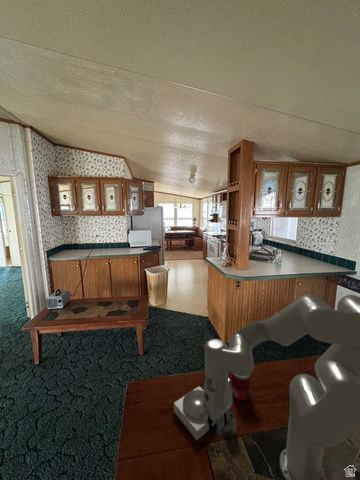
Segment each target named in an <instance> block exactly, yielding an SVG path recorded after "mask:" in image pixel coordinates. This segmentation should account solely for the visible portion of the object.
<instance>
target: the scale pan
mask: <svg viewBox="0 0 360 480" xmlns="http://www.w3.org/2000/svg"><path fill="white" fill-rule="evenodd" d="M192 390H193V391H192ZM192 390H191V391H188V392H186V394H185V395H184V396H185V397H184V399H183V408H184V411H185V412H186V414H187V415H189V416H190V417H191V418H194V419H198V420H201V418H202V415H203V412H204V410H203V394H204V391H201V390H194V389H192Z"/></svg>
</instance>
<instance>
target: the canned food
mask: <svg viewBox="0 0 360 480" xmlns="http://www.w3.org/2000/svg"><path fill="white" fill-rule="evenodd" d="M230 383H231V388H232V397H234V398H235V400H238V401H246V400H247V399H248V398H249V396H250V386H251V374H250V375H248V376H239V375H236V374H233V373H231V379H230Z"/></svg>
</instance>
